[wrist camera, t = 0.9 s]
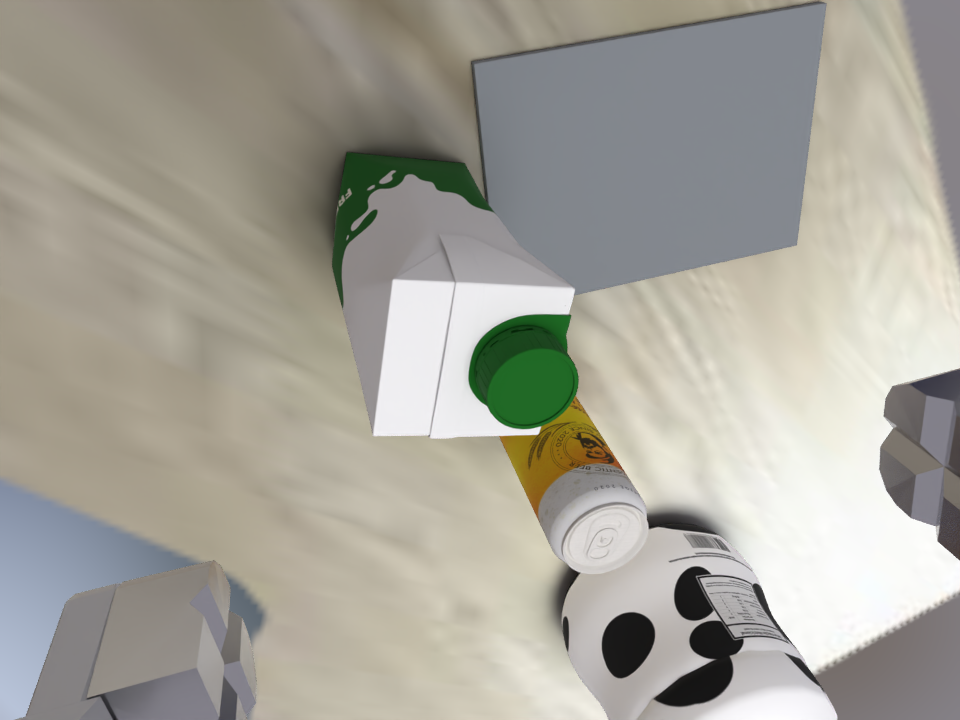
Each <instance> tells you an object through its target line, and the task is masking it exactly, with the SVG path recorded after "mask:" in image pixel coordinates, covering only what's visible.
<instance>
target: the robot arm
mask: <svg viewBox="0 0 960 720" xmlns="http://www.w3.org/2000/svg"><path fill="white" fill-rule="evenodd" d="M884 417H885V418H886V420H887V421H888V422H889V423H890V425H891V426H892V427H893V429H892V431H891V432H890V434H889V435H888V437H887V438H886V439H885V441H884V442H883V444H882V445H881V448H880V467H879V470H880V473H881V476H882V479H883V482H884V485H885V488H886V490H887V492H888V493H889V495H890V496H891V498H892V499H893V501H894V502H895V504H896V505H897V506H898V507H899V508H900V509H901V510H903V511H904V512H905V513H906V514H907V515H908V516H909V517H910V518H912V519H915V520H918V521H921V522H924V523H927V524H930V525H933V526H936V533H937V541H938V542H939V543H940V544H941V545H942V546H944V547H945V548H946V549H947V550H948V551H949V552H951V553H952V554H953V555H954V556H955V557H956V558H958V559H959V560H960V368H959V369H955V370H952V371H948V372H944V373H940V374H936V375H933V376H929V377H925V378H921V379H917V380H914V381H910V382H906V383H902V384H898V385H895V386H892V388H891V390H890V392H889V393H888V395H887V397H886V400H885V409H884ZM229 601H230V586H229V583H228V581H227V579H226V576H225V574H224V572H223V569H222V567H221V565H220V564H218V563H217V562H216V561H214V560H213V561H209V562H205V563H201V564H196V565H192V566H188V567H184V568H179V569H175V570H171V571H167V572H163V573H158V574H154V575H150V576H145V577H141V578H137V579H133V580H129V581H124V582H122V584H113V585H109V586H105V587H101V588H97V589H93V590H89V591H85V592H81V593H78V594H75V595H74V596H72V597H71V598H70V599H69V600H68V601H67V602H66V604H65V605H64V608H63V611H62V614H61V617H60V620H59V623H58V626H57V629H56V631H55V634H54V637H53V640H52V643H51V645H50V648H49V651H48V654H47V657H46V660H45V662H44V665H43V668H42V671H41V674H40V677H39V680H38V683H37V685H36V688H35V691H34V694H33V697H32V700H31V702H30V705H29V708H28V711H27V714H26V717H23V718H19V719H16V720H248V719H247V717H246V716H247V715H248V713H249V712H250V711H251V709H252V708H253V706H254V705H255V704H256V685H257V680H256V671H255V663H254V655H253V651H252V647H251V643H250V639H249V636H248V632H247V630H246V627H245V624H244V621H243V619H242V617H240V616H238V615H236V614H235V613H233V612H231V611H229Z"/></svg>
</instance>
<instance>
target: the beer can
mask: <svg viewBox="0 0 960 720" xmlns="http://www.w3.org/2000/svg"><path fill="white" fill-rule="evenodd" d="M499 437H500V439H501V441H502V443H503V445H504V448H505V450H506V452H507V454H508V456H509V458H510V460H511V463H512V465H513V467H514V469H515V471H516V473H517V475H518V478H519V480H520V482H521V484H522V486H523V488H524V490H525V493H526V495H527V497H528V499H529V501H530V503H531V505H532V508H533V510H534V512H535V514H536V516H537V518H538V520H539V522H540V525H541V527H542V529H543V531H544V533H545V535H546V537H547V540H548V542H549V544H550V546H551V548H552V550H553V552H554V553H555V555H556V556H557V557H558V558H559V559H561V560H562V561H564V562H566V563H567V564H568V566H570V567H571V568H572V569H573V570H575V571H577V572H580V573H584V574H600V573H605V572H608V571H611V570H614V569H616V568H618V567H620V566H622V565H624V564H625V563H627V562H628V561H630V560H631V559H632V558H633V557H634V556H635V555H636V554H637V553H638V552H639V551H640V550H641V548H642V547H643V545H644V543H645V541H646V539H647V536H648V529H649V527H648V522H647V510H646V505H645V503H644V501H643V499H642V498H641V496H640V495H639V493H638V492H637V490H636V489H635V487H634V486H633V484H632V482H631V481H630V479H629V478H628V476H627V475H626V473H625V472H624V470H623V469H622V467H621V465H620V464H619V462H618V461H617V459H616V458H615V456H614V455H613V453H612V452H611V450H610V448H609V447H608V445H607V444H606V442H605V441H604V439H603V438H602V436H601V435H600V433H599V431H598V430H597V428H596V427H595V425H594V424H593V422H592V421H591V419H590V418H589V416H588V414H587V413H586V411H585V410H584V408H583V407H582V405H581V404H580V402H579V401H578V399H577V397H576V396H575V397H574V400H573V401H572V403H571V404H570V406H569V407H568V408H567V410H566V411H565V412H564V413H563V414H562V415H560V416H559V417H558V418H556V419H555V420H553V421H552V422H550V423H548V424H546V425H543V426H541V429H540V432H539V434H538V435H514V436H499Z"/></svg>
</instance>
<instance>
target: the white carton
mask: <svg viewBox="0 0 960 720" xmlns="http://www.w3.org/2000/svg"><path fill="white" fill-rule="evenodd" d="M332 267H333V273H334V277H335V281H336V285H337V289H338V293H339V297H340V301H341V305H342V309H343V313H344V317H345V321H346V325H347V329H348V333H349V337H350V341H351V345H352V349H353V353H354V357H355V361H356V365H357V369H358V373H359V377H360V381H361V386H362V390H363V394H364V398H365V403H366V407H367V411H368V416H369V420H370V424H371V429H372V434H373V436H419V435H428V436H429V438H433V439H444V438H455V437H476V436H514V435H538V434H539V432H540V429H541V426H543V425H546V424H548V423H550V422H552V421H553V420H555V419H556V418H558V417H559V416H560V415H562V414H563V413H564V412H565V411H566V410H567V408H568V407H569V406H570V404H571V403H572V401H573V400H574V397H575V395H576V392H577V389H578V373H577V369H576V367H575V364H574V363H573V361H572V360H571V358H570V357H569V355H568V354H567V339H566V333H567V330H568V327H569V323H570V319H571V315H569V311H570V308H571V304H572V301H573V296H574V292H575V288H574V287H573V286H571V285H570V284H569V283H568V282H566V281H565V280H564V279H562V278H561V277H560V276H558V275H557V274H556V273H555V272H553V271H552V270H551V269H549V268H548V267H547V266H545V265H544V264H543V263H541V262H540V261H539V260H538V259H536V258H535V257H534V256H532V255H531V254H530V253H528V252H527V251H526V250H525V249H523V248H522V247H521V246H520V245H519V244H518V243H517V241H516V240H515V239H514V237H513V236H512V235H511V233H510V232H509V231H508V230H507V228H506V227H505V226H504V224H503V223H502V222H501V220H500V219H499V218H498V216H497V215H496V214H495V212H494V211H493V210H492V208H491V207H490V206H489V204H488V203H487V202H486V200H485V199H484V198H483V196H482V194H481V193H480V191H479V189H478V187H477V185H476V183H475V182H474V180H473V178H472V176H471V174H470V172H469V170H468V169H467V167H466V165H465V163H455V162H444V161H434V160H423V159H412V158H402V157H391V156H381V155H370V154H360V153H349V152H347V153H346V160H345V165H344V171H343V177H342V183H341V189H340V195H339V201H338V207H337V213H336V223H335V235H334V247H333V258H332Z"/></svg>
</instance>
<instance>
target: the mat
mask: <svg viewBox="0 0 960 720" xmlns="http://www.w3.org/2000/svg"><path fill="white" fill-rule="evenodd" d="M825 11H826V3H824V2H816V3H810V4H804V5H799V6H793V7H787V8H781V9H775V10H770V11H764V12H758V13H752V14H746V15H741V16H735V17H729V18H723V19H717V20H712V21H706V22H700V23H694V24H688V25H682V26H677V27H671V28H665V29H659V30H653V31H648V32H642V33H636V34H630V35H624V36H619V37H613V38H607V39H601V40H595V41H590V42H584V43H578V44H572V45H566V46H560V47H555V48H549V49H543V50H537V51H531V52H526V53H520V54H514V55H508V56H502V57H497V58H491V59H485V60H479V61H473V62H472V71H473V81H474V90H475V100H476V109H477V118H478V128H479V137H480V147H481V156H482V165H483V175H484V184H485V193H486V202H487V203H488V204H489V206H490V207H491V208H492V210H493V211H494V212H495V214H496V215H497V216H498V218H499V219H500V220H501V222H502V223H503V224H504V226H505V227H506V228H507V230H508V231H509V232H510V233H511V235H512V236H513V237H514V239H515V240H516V241H517V243H518V244H519V245H520V246H521V247H522V248H523V249H525V250H526V251H527V252H528V253H530V254H531V255H532V256H534V257H535V258H536V259H538V260H539V261H540V262H541V263H543V264H544V265H545V266H547V267H548V268H549V269H551V270H552V271H553V272H555V273H556V274H557V275H558V276H560V277H561V278H562V279H564V280H565V281H566V282H568V283H569V284H570V285H571V286H573V287H574V288H575V292H574V295H578V294H582V293H587V292H591V291H596V290H600V289H604V288H609V287H613V286H618V285H622V284H627V283H631V282H636V281H640V280H644V279H649V278H653V277H658V276H662V275H667V274H671V273H676V272H680V271H685V270H689V269H693V268H698V267H702V266H707V265H711V264H716V263H720V262H725V261H729V260H733V259H738V258H742V257H747V256H751V255H756V254H760V253H765V252H769V251H773V250H778V249H782V248H787V247H791V246H796V245H797V240H798V232H799V223H800V215H801V207H802V199H803V191H804V183H805V174H806V166H807V158H808V150H809V142H810V134H811V125H812V117H813V109H814V101H815V93H816V85H817V76H818V68H819V60H820V52H821V44H822V36H823V27H824V19H825Z"/></svg>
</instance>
